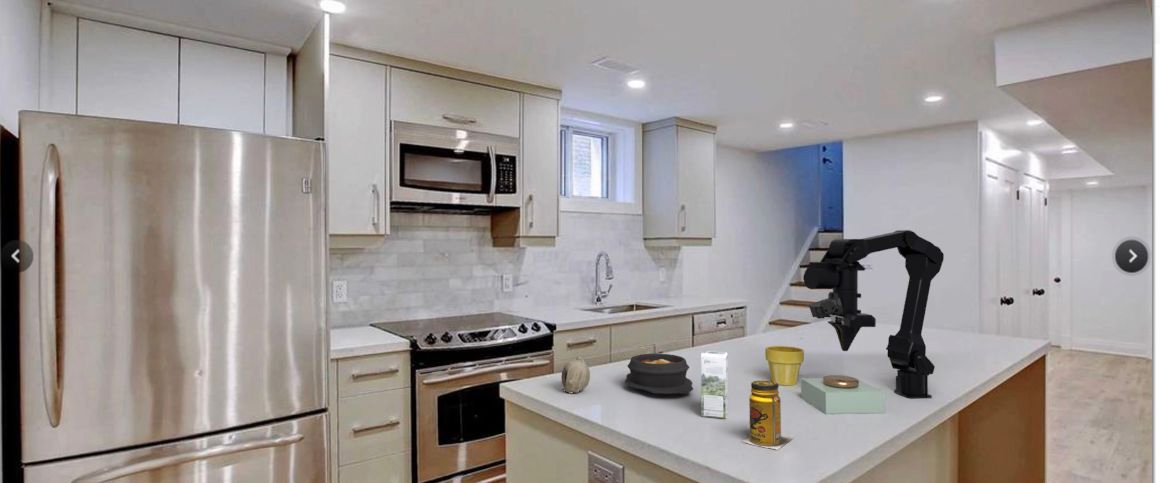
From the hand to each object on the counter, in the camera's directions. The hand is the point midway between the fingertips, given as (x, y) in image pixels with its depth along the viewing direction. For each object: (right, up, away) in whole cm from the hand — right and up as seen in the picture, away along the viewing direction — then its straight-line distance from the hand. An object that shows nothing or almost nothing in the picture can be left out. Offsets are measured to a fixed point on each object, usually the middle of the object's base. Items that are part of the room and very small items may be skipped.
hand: (844, 350), depth 145 cm
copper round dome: (-2, -12, -3) cm, 12 cm away
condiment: (-28, -13, -28) cm, 42 cm away
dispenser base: (-2, -13, -3) cm, 13 cm away
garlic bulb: (-68, -14, +12) cm, 70 cm away
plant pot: (-8, -13, +20) cm, 25 cm away
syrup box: (-35, -13, -10) cm, 39 cm away
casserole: (-45, -14, +15) cm, 49 cm away
